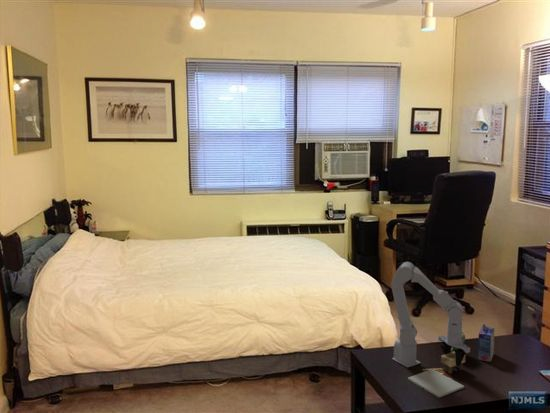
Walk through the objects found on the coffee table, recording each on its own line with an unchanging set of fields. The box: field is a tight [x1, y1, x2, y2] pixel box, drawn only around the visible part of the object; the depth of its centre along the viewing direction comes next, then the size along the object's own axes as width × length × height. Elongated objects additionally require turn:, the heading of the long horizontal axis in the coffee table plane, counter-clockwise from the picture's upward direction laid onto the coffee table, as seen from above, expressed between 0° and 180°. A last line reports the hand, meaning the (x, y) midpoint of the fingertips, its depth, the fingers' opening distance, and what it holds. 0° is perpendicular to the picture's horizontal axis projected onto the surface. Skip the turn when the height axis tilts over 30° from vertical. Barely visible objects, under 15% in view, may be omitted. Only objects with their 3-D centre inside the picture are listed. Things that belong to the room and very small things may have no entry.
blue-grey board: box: [407, 368, 465, 398], centre depth 188 cm, size 16×14×1 cm
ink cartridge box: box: [477, 323, 495, 363], centre depth 210 cm, size 10×6×14 cm, turn 148°
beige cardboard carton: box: [440, 352, 466, 375], centre depth 198 cm, size 5×9×6 cm, turn 120°
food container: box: [451, 331, 466, 352], centre depth 213 cm, size 12×6×10 cm, turn 168°
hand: (453, 362), depth 198 cm, fingers closed on beige cardboard carton, 5 cm apart
